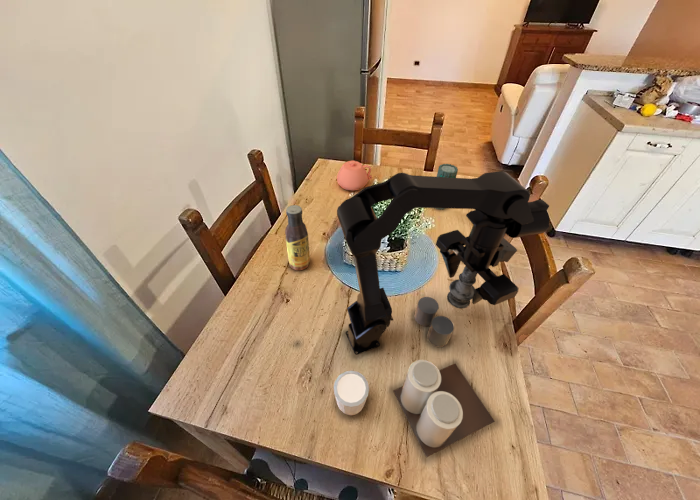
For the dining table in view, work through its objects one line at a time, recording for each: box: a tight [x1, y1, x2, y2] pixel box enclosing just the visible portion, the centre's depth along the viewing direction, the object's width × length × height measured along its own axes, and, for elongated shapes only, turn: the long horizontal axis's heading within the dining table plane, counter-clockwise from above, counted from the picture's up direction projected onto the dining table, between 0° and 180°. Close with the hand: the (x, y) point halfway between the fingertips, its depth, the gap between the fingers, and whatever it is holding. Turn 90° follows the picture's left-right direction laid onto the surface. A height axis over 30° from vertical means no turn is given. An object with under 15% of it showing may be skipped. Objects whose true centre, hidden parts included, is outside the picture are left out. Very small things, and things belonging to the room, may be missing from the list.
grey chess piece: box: [446, 265, 478, 309], centre depth 68 cm, size 6×6×12 cm
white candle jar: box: [333, 370, 370, 416], centre depth 62 cm, size 7×7×7 cm
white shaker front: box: [416, 391, 463, 447], centre depth 56 cm, size 6×6×12 cm
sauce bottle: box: [284, 204, 311, 271], centre depth 85 cm, size 7×6×20 cm
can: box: [433, 163, 459, 211], centre depth 109 cm, size 6×6×15 cm
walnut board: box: [392, 363, 496, 458], centre depth 63 cm, size 16×13×1 cm
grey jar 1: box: [413, 296, 440, 327], centre depth 77 cm, size 5×5×6 cm
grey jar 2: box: [426, 315, 455, 348], centre depth 73 cm, size 5×5×6 cm
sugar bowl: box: [336, 160, 373, 191], centre depth 120 cm, size 12×14×10 cm
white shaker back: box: [401, 359, 441, 414], centre depth 60 cm, size 6×6×12 cm
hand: (462, 289), depth 69 cm, fingers closed on grey chess piece, 8 cm apart
